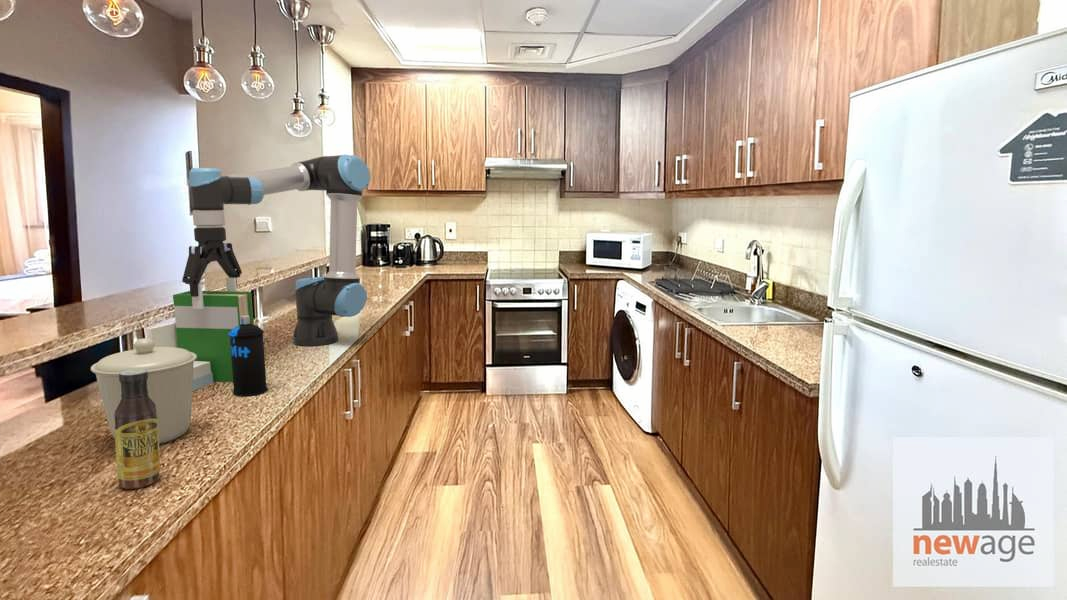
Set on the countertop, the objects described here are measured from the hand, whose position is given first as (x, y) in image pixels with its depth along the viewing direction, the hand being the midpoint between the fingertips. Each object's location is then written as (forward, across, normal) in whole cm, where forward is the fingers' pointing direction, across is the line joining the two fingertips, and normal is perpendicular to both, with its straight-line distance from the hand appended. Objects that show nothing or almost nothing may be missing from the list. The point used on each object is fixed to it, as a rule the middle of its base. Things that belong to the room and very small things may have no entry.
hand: (216, 304), depth 163 cm
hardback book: (+21, 0, -1) cm, 21 cm away
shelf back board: (+21, +3, -11) cm, 23 cm away
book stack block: (+21, +9, -4) cm, 23 cm away
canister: (+21, +42, +16) cm, 49 cm away
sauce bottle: (+21, +60, +30) cm, 70 cm away
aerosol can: (+21, +10, +16) cm, 28 cm away
